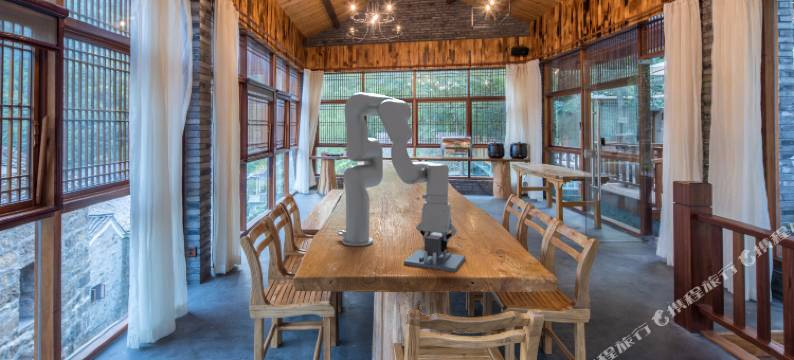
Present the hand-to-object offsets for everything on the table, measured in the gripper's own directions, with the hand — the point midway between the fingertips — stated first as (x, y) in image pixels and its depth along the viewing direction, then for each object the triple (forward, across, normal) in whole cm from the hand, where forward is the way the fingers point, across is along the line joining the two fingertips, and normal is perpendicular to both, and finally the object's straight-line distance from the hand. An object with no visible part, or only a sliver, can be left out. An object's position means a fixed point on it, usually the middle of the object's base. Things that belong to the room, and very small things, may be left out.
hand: (435, 249), depth 145 cm
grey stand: (+4, 0, 0) cm, 4 cm away
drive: (+1, 0, 0) cm, 1 cm away
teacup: (+5, -4, +19) cm, 20 cm away
